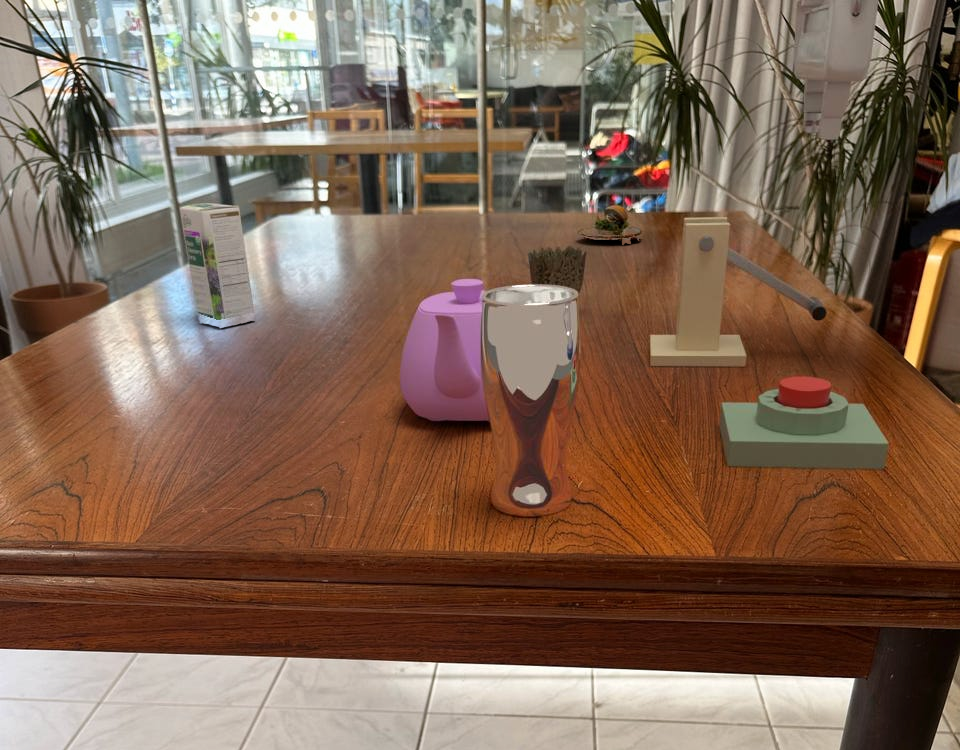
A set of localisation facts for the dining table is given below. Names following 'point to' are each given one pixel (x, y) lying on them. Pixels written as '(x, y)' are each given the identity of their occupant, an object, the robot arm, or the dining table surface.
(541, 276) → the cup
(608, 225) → the moss table decoration
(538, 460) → the beer glass
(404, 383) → the teapot
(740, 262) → the lever
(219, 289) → the syrup box
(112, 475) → the dining table surface
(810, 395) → the button
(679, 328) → the bracket
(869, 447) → the button box
